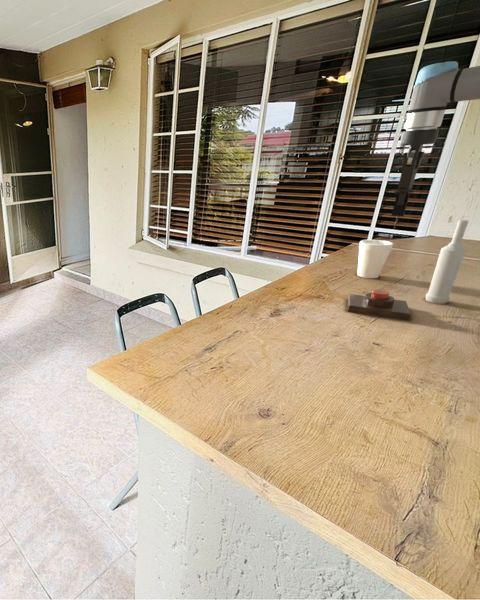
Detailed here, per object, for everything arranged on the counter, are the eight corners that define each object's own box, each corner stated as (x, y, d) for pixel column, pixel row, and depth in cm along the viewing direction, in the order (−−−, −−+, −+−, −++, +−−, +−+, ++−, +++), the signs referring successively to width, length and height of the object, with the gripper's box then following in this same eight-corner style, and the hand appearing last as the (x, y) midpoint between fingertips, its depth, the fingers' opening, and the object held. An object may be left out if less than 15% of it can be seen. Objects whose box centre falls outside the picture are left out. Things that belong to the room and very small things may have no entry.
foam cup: (352, 277, 133) (360, 244, 128) (352, 270, 140) (359, 238, 135) (384, 280, 127) (394, 246, 123) (382, 273, 134) (391, 240, 130)
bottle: (429, 303, 108) (456, 221, 99) (421, 297, 112) (447, 218, 103) (451, 304, 106) (481, 222, 97) (442, 298, 110) (470, 218, 101)
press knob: (386, 297, 105) (388, 290, 105) (388, 301, 102) (390, 295, 102) (370, 295, 108) (371, 288, 107) (370, 299, 105) (372, 293, 104)
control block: (404, 306, 107) (407, 294, 105) (409, 320, 98) (413, 307, 97) (347, 299, 114) (350, 287, 113) (347, 311, 106) (350, 299, 105)
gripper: (406, 131, 103) (385, 211, 112) (399, 130, 95) (377, 217, 104) (441, 128, 98) (417, 213, 107) (437, 127, 90) (411, 219, 99)
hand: (397, 215), depth 105 cm, fingers closed
